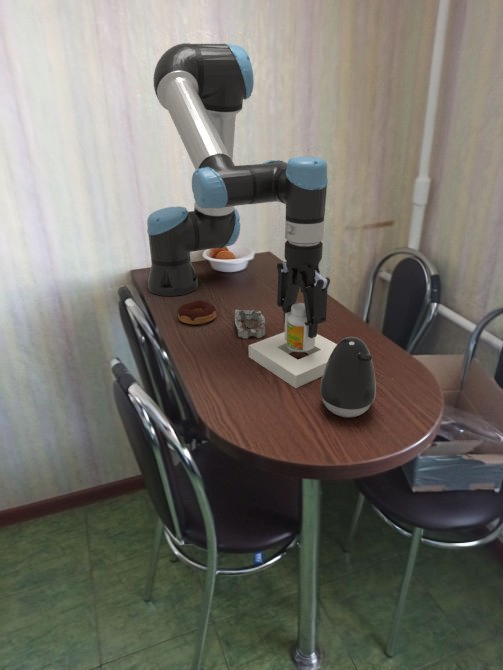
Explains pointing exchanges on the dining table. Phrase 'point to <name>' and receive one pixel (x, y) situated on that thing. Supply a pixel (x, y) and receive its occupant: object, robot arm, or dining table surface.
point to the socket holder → (292, 359)
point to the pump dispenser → (349, 379)
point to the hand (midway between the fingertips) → (299, 343)
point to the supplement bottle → (296, 327)
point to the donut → (196, 312)
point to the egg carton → (249, 323)
